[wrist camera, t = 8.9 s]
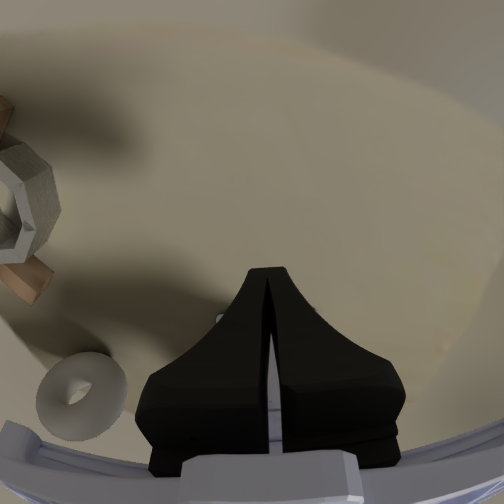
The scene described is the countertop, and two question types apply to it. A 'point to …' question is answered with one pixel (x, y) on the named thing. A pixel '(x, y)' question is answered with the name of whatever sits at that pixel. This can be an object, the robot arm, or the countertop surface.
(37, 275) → the vee stop
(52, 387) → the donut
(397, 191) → the countertop surface
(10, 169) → the ring
